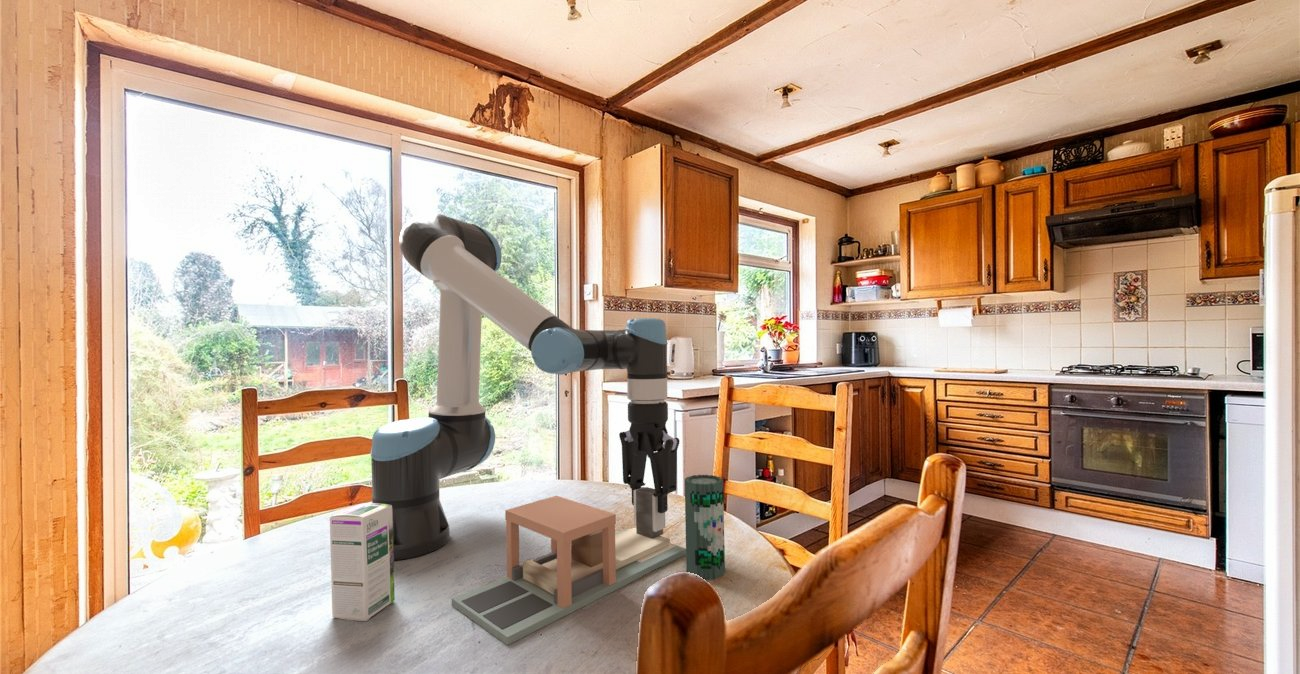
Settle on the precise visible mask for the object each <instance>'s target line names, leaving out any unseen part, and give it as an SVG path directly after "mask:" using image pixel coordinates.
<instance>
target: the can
mask: <svg viewBox="0 0 1300 674" xmlns="http://www.w3.org/2000/svg"><path fill="white" fill-rule="evenodd" d="M684 499H685V500H684V506H685V507H684V508H685V509H684V512H685V548H686V554H685V558H686V559H685V560H686V561H685V565H686V569H685V570H686V573H688V572H690V573H694V574H697V575H699V576H700V577H702V578H704V579H703V580H712V579H718V578H720V577H722V576H724V574H725V573H726V562H725V561H726V559H725V557H726V556H725V555H726V554H725V553H726V551H725V514H724V513H725V512H724V511H725V505H724V504H725V503H724V502H725V501H724V478H722V477H721V476H717V475H713V474H697V475H695V474H694V475H693V474H692V475H689V476H686V478H684ZM696 577H697V576H696Z"/></svg>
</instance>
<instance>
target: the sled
mask: <svg viewBox="0 0 1300 674" xmlns="http://www.w3.org/2000/svg"><path fill="white" fill-rule="evenodd" d="M641 488H642V487H641ZM653 493H655V488H653V487H648V486H646V487H645V488H642V489H639V490H636V525H635V526H636V527H632V528H630V529H629V528H628V529H629V530H627V531H624V532H622V533H619V534H617V535H615V556H616V570H617V569H619V568H621V567H623V566H625V565H628V564H630V563H632V562H634V561H636V560H638V559H640V558H642V557H645V556H647V555H649V554H651V553H653V552H655V551H657V550H659V549H662V548H664V547H666V546H668V545H670V543H671V539H670V538H668V537H665V536H663V535H664V529H662V530H659V531H657V532H654V531H653V523H652V495H653ZM532 560H533V559H530V558H529V559H526V560H524V561H522V564H523V579H525V580H527V581H529V582H531V583H533V584H535V585H536V586H538V587H540V588H542V589H544V590H546V591H548V592H549V593H551V594H553V595H554V590H556V589H557V559H554V560H552V561H549V562H547V563H544V564H542V565H540V564H538V563H536V562H534V561H532ZM602 568H603V562H602V563H600V564H598V565H596V566H593V567H589V566H587V565H584V564H582V563H580V562H577V561H575V560H573V559H571V582H573V581H575V580H578V579H580V578H582V577H584V576H586V575H589V574H591V573H593V572H595V571H597V570H600V569H602Z"/></svg>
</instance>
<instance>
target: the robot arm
mask: <svg viewBox="0 0 1300 674" xmlns="http://www.w3.org/2000/svg"><path fill="white" fill-rule="evenodd" d="M399 247H400V248H399V249H400V252H401V254H402V256H403V258H404V259H405V260H406V262H407V263H408V264H409V265H410V266H411V267H412V268H413V269H414V270H416V271H417V272H418V273H420V274H421V275H422V276H423V277H425V278H426V279H428V280H430V281H433V284H434V286H435V287H436V288H437V289H438V290H439V293H440V298H439V300H440V301H439V322H438V325H439V326H438V353H437V354H438V356H437V382H436V383H437V384H436V385H437V386H436V403H435V404H434V405H433V406H431V408H430V409H428V416H426V417H423V416H422V417H421V416H420V417H412V418H411V417H410V418H408V419H400V420H395V421H393V422H389V423H386V424H384V425H382V426H380V427H378V428H377V429H376V430H375V431H374V432H373V434H372V440H371V441H372V442H371V449H370V457H371V458H370V459H371V498H372V499H371V500H372V502H371V503H380V504H388V505H392V519H393V556H394V561H397V560H399V561H400V560H404V559H405V560H407V559H410V558H415V557H419V556H423V555H425V554H429V553H433V552H434V551H436V550H439V549H441V548H442V547H443V546H445V545H446V544H447V543H448V542H449V540H450V538H451V536H450V524H449V522H448V519H447V516H446V513H445V510H444V508H443V505H442V502H441V500H440V499H441V498H440V480H441V479H444V478H447V477H450V476H452V475H455V474H458V473H462V472H466V471H470V470H472V469H474V468H476V467H477V466H480V465H481V464H483V463H484V462H485V461H486V460H487V459H488V458H489V457H490V456H491V454H492V452H493V450H494V447H495V445H496V444H495V442H496V432H495V428H494V426H493V425H492V424H491V420H489V418H488V417H486V408H485V407H484V406H483V405H482V404H481V403H480V401H479V400H480V399H479V398H480V375H481V374H480V372H481V347H482V346H481V344H482V321H483V320H482V319H483V316H484V317H486V318H487V319H488V320H490V321H491V322H492V323H494V325H496V326H498V327H499V328H500V329H501V330H502V331H504V332H506V333H507V334H508V335H509V336H510V337H512V338H513V339H515V340H516V341H517V342H518V343H519V344H521V345H522V346H523V347H524V348H526V349H527V350H528V351H530V352H531V353H530V355H531V357H532V359H533V362H534V364H535V366H536V367H537V368H538V370H540V371H542V372H544V373H547V374H550V375H551V374H555V375H567V374H571V373H577V372H584V371H585V372H586V371H587V372H588V371H595V370H626V373H627V375H626V376H627V384H626V386H627V388H626V389H627V392H626V393H627V399H628V400H629V402H628V404H627V421H628V422H629V423H630V427H629V430H625V431H621V432H619V440H620V443H621V444H620V445H621V461H622V465H621V466H622V481H623V484H625V485H628V486H629V488H630V489H631V504H632V506H633V525H634V526H636V490H639V489H642V488H645V487H644V486H646V483H645V482H644V480H645V479H644V478H645V472H646V465H647V458H648V459H649V461H650V467H651V473H652V480H653V481H652V482H653V485H654V489H655V493H653V495H652V523H653V531H654V532H657V531H659V530H662V529H663V530H664V529H666V513H667V511H668V508H669V507H668V495H669V494H671V493H675V492H677V489H678V488H677V483H678V482H677V481H678V479H677V477H678V476H677V474H678V473H677V472H678V469H677V468H678V463H677V462H678V448H679V446H680V443H681V442H680V439H679V438H678V437H672V436H671V435H670V434H669V433H668V429H667V426H666V425H667V421H668V420H669V404H668V403H667V401H665V400H667V399H668V340H667V339H668V338H667V327H666V326H667V325H666V323H665V321H664V320H663V319H661V318H656V317H655V318H650V317H649V318H643V317H642V318H631V319H628V320H627V321H626V326H625V328H624V329H618V330H616V329H615V330H612V329H611V330H609V329H607V330H597V329H595V330H592V329H578V328H577V329H576V328H573V327H572V326H570V325H569V324H568V323H566V322H565V321H563V320H562V319H560V318H559V317H558V316H557V315H555V314H554V313H553V312H552V311H550V310H549V309H547V308H546V307H545V306H544V305H542V304H541V303H539V302H538V301H536V300H535V299H534V298H532V297H531V296H529V295H528V294H527V293H526V292H524V291H523V290H521V289H520V288H518V287H517V286H516V285H514V284H513V283H512V282H510V280H508V279H506V278H505V277H503V276H502V275H501V274H499V272H498V271H499V269H500V267H501V264H502V248H501V246H500V243H499V241H498V240H497V238H496V237H495V236H494V235H493V234H492V233H491V232H490V231H489V230H487V229H485V228H483V227H481V226H479V225H477V224H474V223H469V222H465V221H463V220H459V219H456V218H453V217H450V216H447V215H444V214H441V213H436V212H425V213H420V214H417V215H415V216H413V217H411V218H410V219H409V220H407V222H406V223H405V224H404V225H403V227H402V229H401V231H400V235H399ZM482 315H483V316H482Z"/></svg>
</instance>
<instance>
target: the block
mask: <svg viewBox="0 0 1300 674" xmlns="http://www.w3.org/2000/svg"><path fill="white" fill-rule="evenodd" d="M571 559H573V560H575V561H577V562H580V563H582V564H584V565H587V566H589V567H593V566H596V565H598V564H600V563H602V562H603V549H602V529H601V530H598V531H596V532H593V533H591V534H588V535H585V536H583V537H580V538H577V539H575V540H572V541H571Z"/></svg>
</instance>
